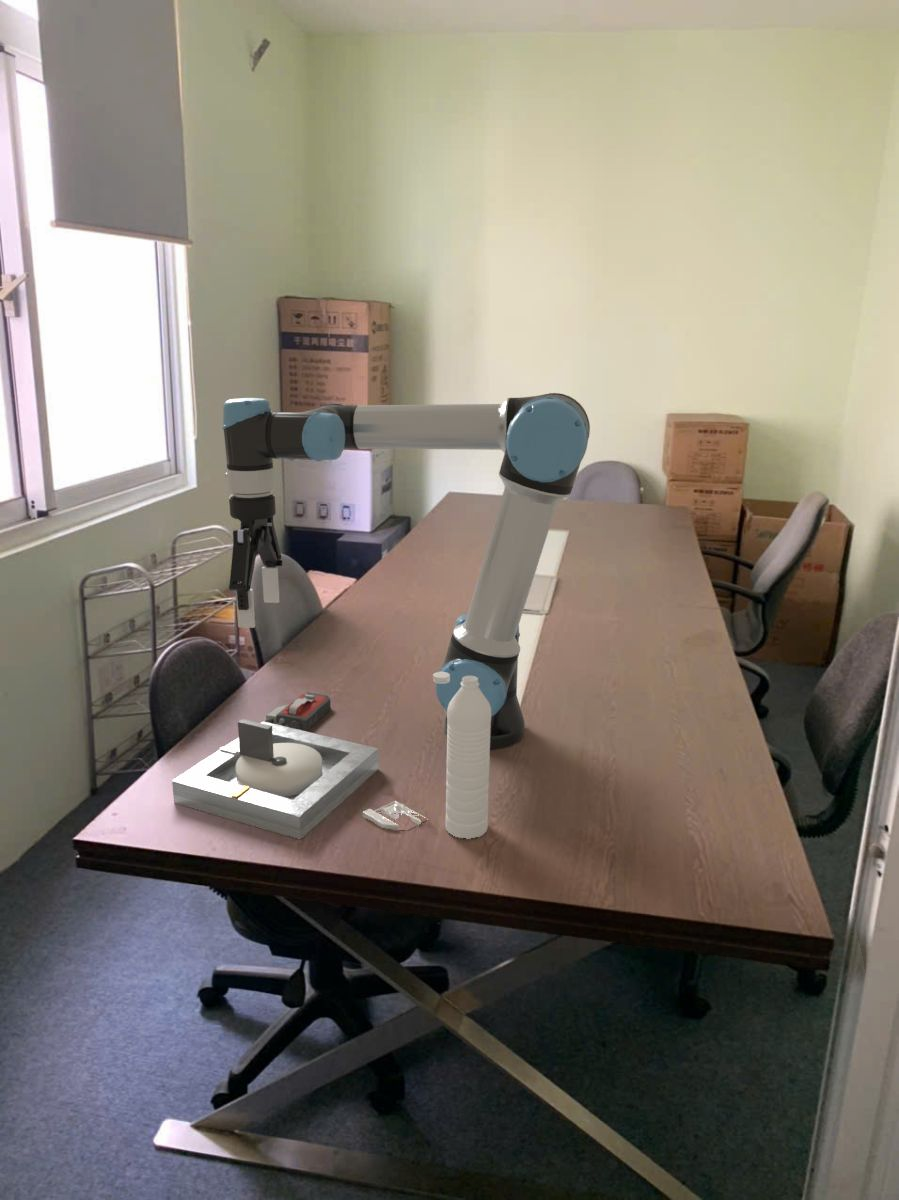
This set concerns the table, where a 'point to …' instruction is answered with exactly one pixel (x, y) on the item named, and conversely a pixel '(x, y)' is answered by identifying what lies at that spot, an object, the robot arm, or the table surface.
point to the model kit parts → (390, 811)
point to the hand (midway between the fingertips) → (259, 614)
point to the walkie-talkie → (301, 712)
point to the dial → (274, 762)
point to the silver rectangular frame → (291, 815)
